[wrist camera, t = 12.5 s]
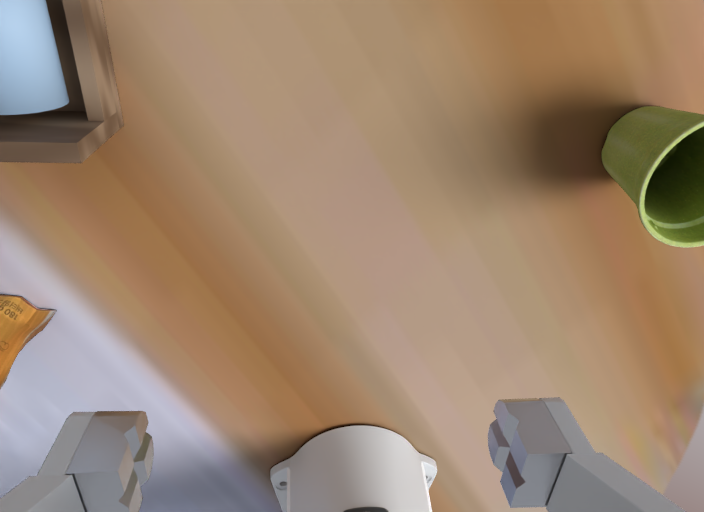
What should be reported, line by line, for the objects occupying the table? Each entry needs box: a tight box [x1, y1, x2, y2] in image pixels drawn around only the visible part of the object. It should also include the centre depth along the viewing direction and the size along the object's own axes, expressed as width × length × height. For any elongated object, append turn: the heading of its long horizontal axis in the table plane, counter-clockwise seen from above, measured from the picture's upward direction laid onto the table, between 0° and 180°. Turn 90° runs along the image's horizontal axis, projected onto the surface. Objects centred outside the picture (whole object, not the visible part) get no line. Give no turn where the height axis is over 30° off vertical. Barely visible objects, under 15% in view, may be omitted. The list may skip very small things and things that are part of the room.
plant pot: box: [602, 106, 704, 248], centre depth 37 cm, size 9×9×9 cm
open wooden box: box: [0, 0, 124, 163], centre depth 29 cm, size 14×9×8 cm, turn 177°
